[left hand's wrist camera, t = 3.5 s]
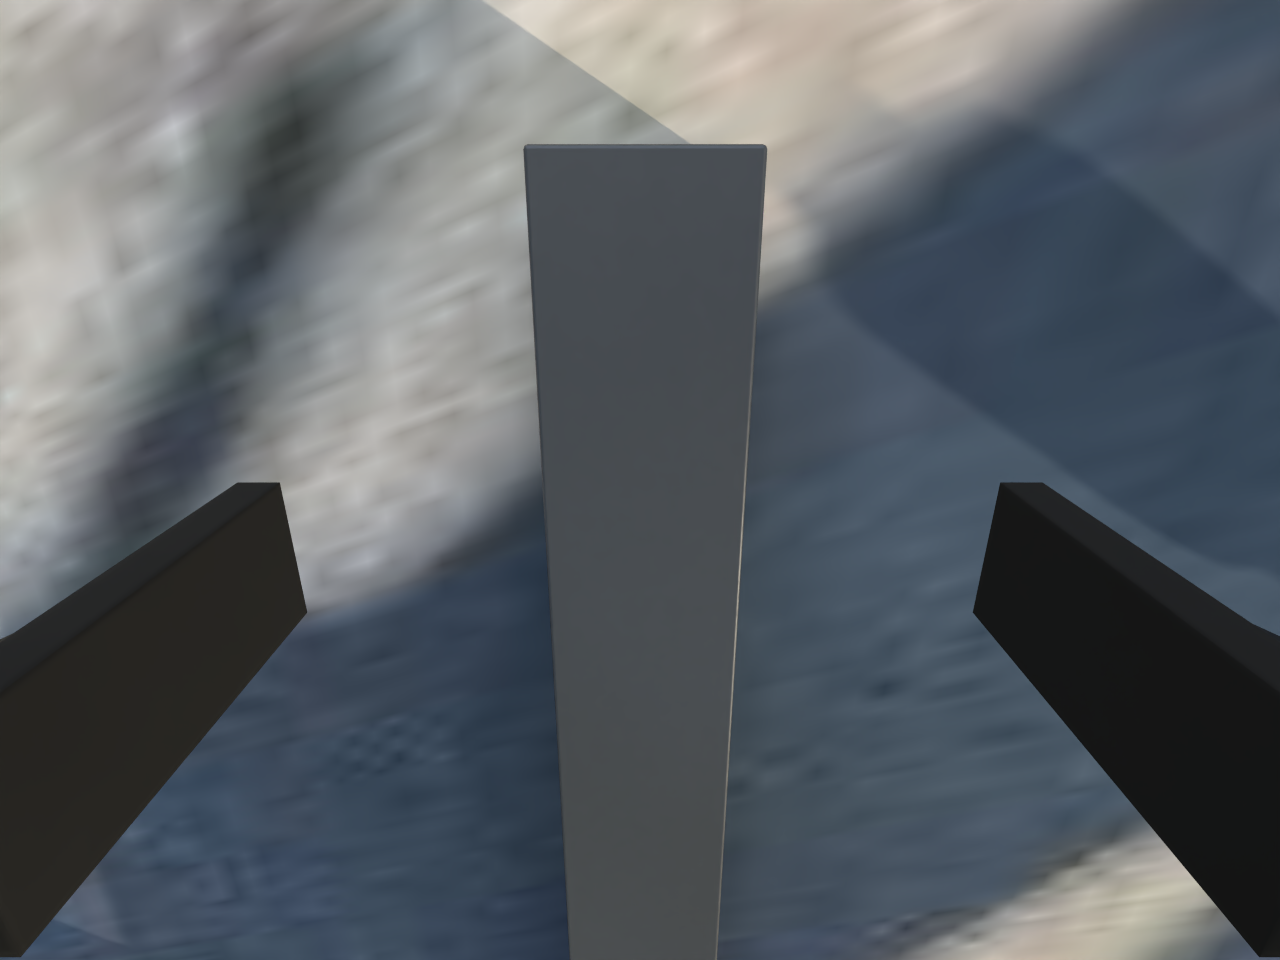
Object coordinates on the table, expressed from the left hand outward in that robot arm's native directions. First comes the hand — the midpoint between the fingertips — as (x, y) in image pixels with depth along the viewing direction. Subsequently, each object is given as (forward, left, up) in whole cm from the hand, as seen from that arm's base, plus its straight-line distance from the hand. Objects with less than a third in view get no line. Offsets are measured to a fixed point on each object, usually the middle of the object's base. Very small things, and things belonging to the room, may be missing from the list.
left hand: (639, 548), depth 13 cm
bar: (+8, +24, -12) cm, 28 cm away
